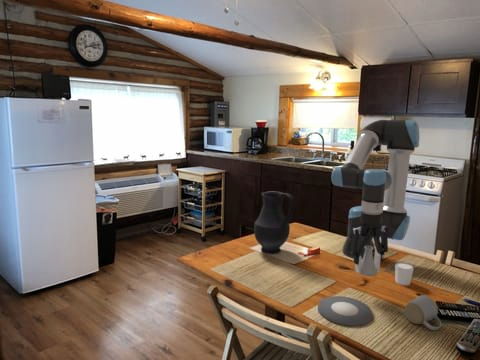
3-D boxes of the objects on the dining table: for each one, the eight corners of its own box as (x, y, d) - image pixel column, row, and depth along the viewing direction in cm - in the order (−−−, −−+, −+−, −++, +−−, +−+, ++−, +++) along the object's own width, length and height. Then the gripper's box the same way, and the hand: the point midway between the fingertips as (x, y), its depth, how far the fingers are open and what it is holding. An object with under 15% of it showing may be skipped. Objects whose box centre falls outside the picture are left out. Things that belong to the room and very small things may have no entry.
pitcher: (268, 241, 197) (271, 185, 191) (301, 252, 183) (305, 192, 177) (246, 250, 184) (247, 190, 179) (279, 262, 170) (282, 198, 165)
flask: (378, 277, 137) (380, 251, 135) (357, 275, 138) (359, 250, 136) (375, 269, 144) (377, 244, 142) (356, 267, 145) (357, 243, 143)
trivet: (354, 296, 140) (354, 293, 140) (383, 322, 123) (383, 319, 123) (309, 301, 136) (309, 298, 136) (332, 329, 119) (333, 325, 119)
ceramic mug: (401, 318, 126) (403, 297, 124) (415, 311, 130) (417, 291, 129) (432, 335, 117) (435, 312, 116) (445, 327, 122) (449, 305, 120)
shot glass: (411, 280, 155) (412, 264, 154) (412, 287, 149) (414, 270, 147) (393, 277, 157) (394, 261, 156) (394, 284, 151) (395, 268, 150)
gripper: (352, 216, 131) (347, 277, 135) (402, 213, 135) (396, 272, 140) (341, 210, 138) (337, 269, 142) (389, 207, 142) (384, 264, 147)
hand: (367, 270), depth 141 cm, fingers closed on flask, 7 cm apart
